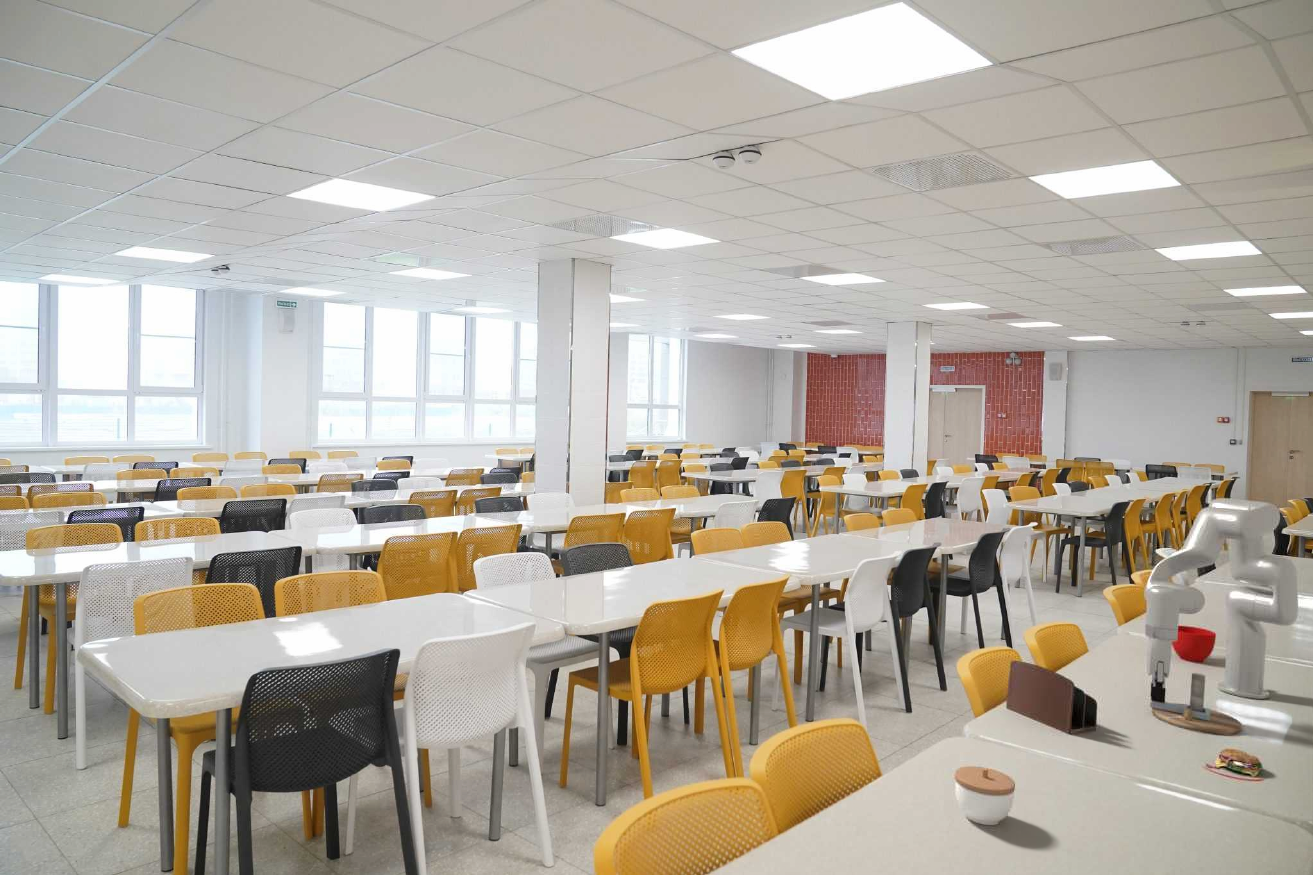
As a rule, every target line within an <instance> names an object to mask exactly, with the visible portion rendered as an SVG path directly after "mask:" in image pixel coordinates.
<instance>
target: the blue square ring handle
mask: <svg viewBox="0 0 1313 875" xmlns="http://www.w3.org/2000/svg"><path fill="white" fill-rule="evenodd" d="M1156 679H1157V678H1156ZM1155 683H1156V682H1155ZM1172 703H1173V702H1167V701H1165V703H1160V702H1155V701H1151V700H1150V703H1149V708H1151V709H1152V708H1157V709H1162V710H1167V711H1172V712H1178V713H1183V716H1185V708H1190V704H1186V703H1182V704H1183V705H1178V704H1179V703H1177V704H1172ZM1192 717H1193V718H1199V719H1204V720H1209V721H1210V708H1206V707H1203V712H1197V711H1192Z"/></svg>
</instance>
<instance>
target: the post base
mask: <svg viewBox="0 0 1313 875" xmlns="http://www.w3.org/2000/svg"><path fill="white" fill-rule="evenodd" d="M1205 686H1206V675H1205V674H1202V673H1198V672H1193V673H1191V684H1190V699H1189V705H1190V708H1185V716H1183V713H1178V712H1172V711H1167V710H1162V709H1157V708H1152V707H1151V713H1153V714H1152V715H1153V716H1154V717H1155V718H1156V719H1158V720H1160V721H1161V720H1162V722H1164V723H1166V722H1167V723H1166V724H1169V725H1171V726H1174V727H1177V728H1181V729H1184V730H1188V731H1191V732H1192V731H1193V732H1198V733H1203V734H1211V735H1220V736H1224V735H1225V736H1229V735H1230V736H1231V735H1238V734H1240V733H1241V732H1242V730H1243V729H1242V728H1243V724H1242V723H1241V721H1239V720H1238V719H1237V718H1235V717H1233V716H1231V715H1228V714H1226V713H1223V712H1220V711H1218V710H1214V709H1210V708H1209V709H1210V721H1209V720H1204V719H1199V718H1193V717H1192V711H1197V712H1203V708H1204V702H1205V701H1204V700H1205V688H1206V687H1205ZM1171 703H1172V704H1178V705H1183V704H1184V703H1177V702H1176V703H1173V702H1171Z"/></svg>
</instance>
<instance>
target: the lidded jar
mask: <svg viewBox="0 0 1313 875" xmlns="http://www.w3.org/2000/svg"><path fill="white" fill-rule="evenodd" d="M1015 789H1016V782H1015V781H1014V779H1013V778H1012V777H1011V776H1009V775H1007V774H1005V773H1004V772H1001V771H998V770H995V769H993V768H988V767H983V766H974V765H969V766H962V767H959V768H957V769H956V770H955V772H954V792H955V798H956V802H957V804H958V806H959V808H960V809H961V811H962V812H963V814H965V817H966V818H967V819H968V820H970V821H971V822H973V823H976V824H979V825H982V826H983V825H984V826H995V825H998V824H1000V821H1003V820H1004V819H1005V818H1006V817H1007V816H1008V814H1009V813H1010V812H1011V809H1012V806H1013V803H1014V794H1015Z"/></svg>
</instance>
